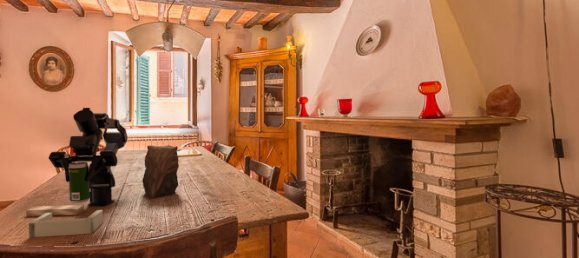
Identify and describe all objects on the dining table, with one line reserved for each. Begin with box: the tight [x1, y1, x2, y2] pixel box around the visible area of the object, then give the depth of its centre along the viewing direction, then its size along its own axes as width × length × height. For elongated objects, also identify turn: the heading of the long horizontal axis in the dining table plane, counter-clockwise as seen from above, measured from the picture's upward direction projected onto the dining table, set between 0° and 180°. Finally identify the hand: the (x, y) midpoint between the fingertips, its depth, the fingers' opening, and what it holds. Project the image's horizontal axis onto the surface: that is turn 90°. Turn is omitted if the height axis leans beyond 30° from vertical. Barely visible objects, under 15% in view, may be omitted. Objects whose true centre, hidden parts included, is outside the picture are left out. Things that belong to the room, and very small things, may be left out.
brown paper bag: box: [142, 144, 180, 200], centre depth 136 cm, size 13×13×20 cm
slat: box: [25, 204, 85, 217], centre depth 111 cm, size 16×4×2 cm, turn 96°
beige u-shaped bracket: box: [28, 209, 104, 238], centre depth 96 cm, size 9×16×4 cm, turn 101°
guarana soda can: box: [68, 162, 90, 204], centre depth 103 cm, size 5×5×12 cm
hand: (77, 181), depth 102 cm, fingers closed on guarana soda can, 5 cm apart
